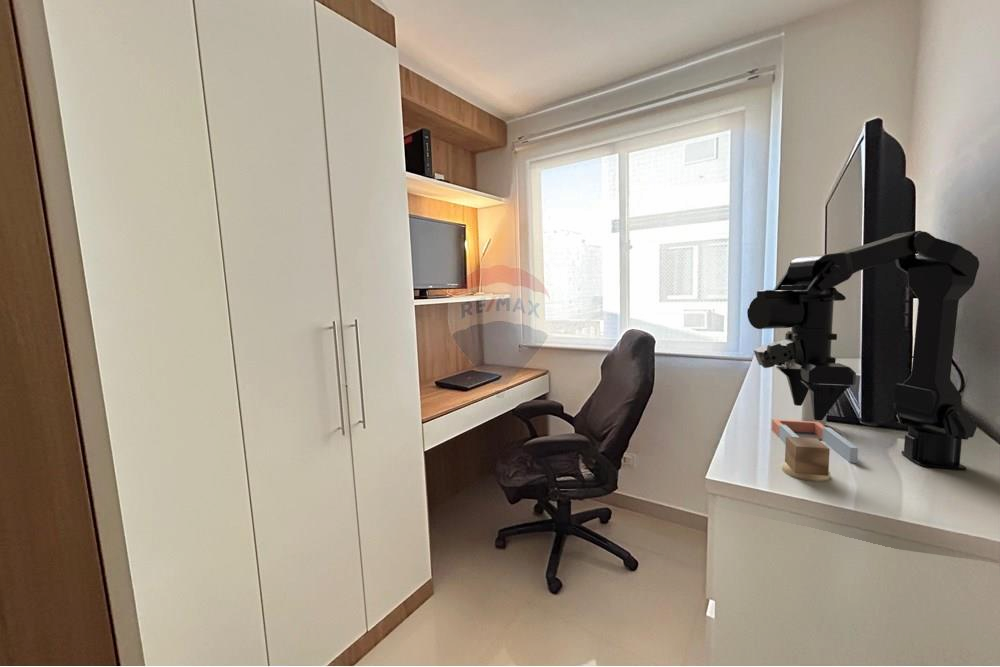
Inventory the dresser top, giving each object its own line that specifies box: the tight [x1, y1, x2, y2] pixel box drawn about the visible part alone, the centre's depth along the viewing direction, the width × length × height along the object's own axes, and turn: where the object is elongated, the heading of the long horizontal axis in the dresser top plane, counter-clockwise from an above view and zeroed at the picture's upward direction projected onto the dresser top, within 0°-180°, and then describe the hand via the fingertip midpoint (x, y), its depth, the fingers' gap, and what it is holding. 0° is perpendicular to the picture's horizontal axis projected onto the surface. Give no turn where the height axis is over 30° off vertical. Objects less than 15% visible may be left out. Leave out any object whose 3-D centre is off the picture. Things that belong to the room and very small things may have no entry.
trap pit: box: [771, 418, 826, 441], centre depth 92 cm, size 9×6×2 cm, turn 71°
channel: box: [778, 425, 859, 464], centre depth 84 cm, size 9×12×3 cm
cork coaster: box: [781, 461, 831, 483], centre depth 74 cm, size 7×7×1 cm
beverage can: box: [800, 390, 827, 426], centre depth 99 cm, size 5×5×12 cm
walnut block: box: [784, 437, 830, 476], centre depth 74 cm, size 5×5×5 cm
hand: (807, 412), depth 73 cm, fingers open, 9 cm apart
